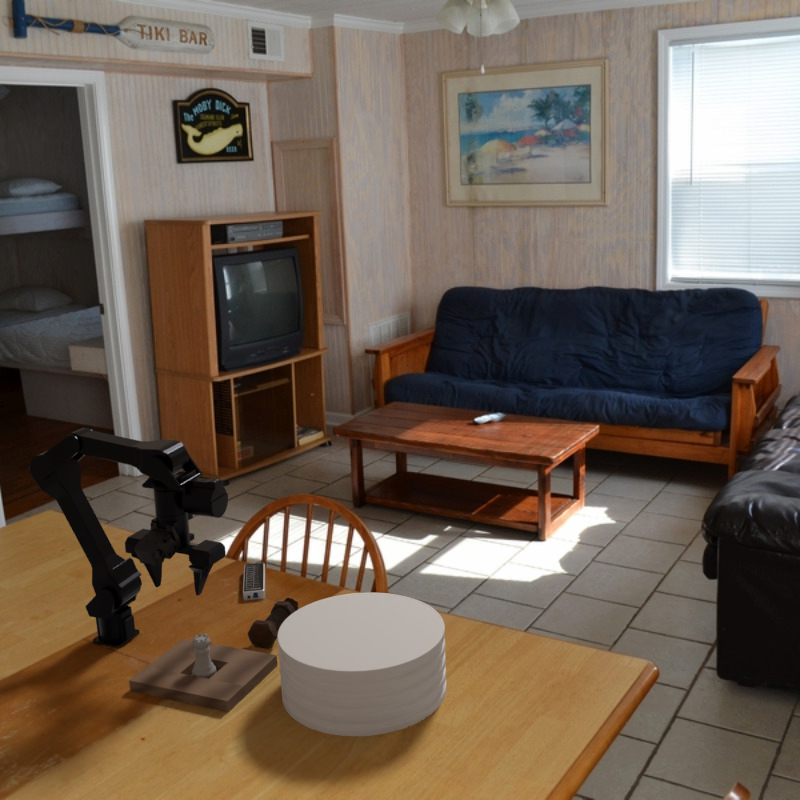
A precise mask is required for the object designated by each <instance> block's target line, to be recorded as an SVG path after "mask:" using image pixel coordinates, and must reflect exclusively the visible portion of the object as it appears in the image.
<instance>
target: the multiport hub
mask: <svg viewBox="0 0 800 800" xmlns="http://www.w3.org/2000/svg"><path fill="white" fill-rule="evenodd" d="M265 565H266V564H265V563H264V562H259V563H257V562H256V563H248V564H247V563H246V564H244V567H243V581H242V582H243V583H242V586H243V587H242V596H243V597H242V598H243V601H244V602H245V601H255V600H265V599H266V566H265Z"/></svg>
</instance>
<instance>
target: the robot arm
mask: <svg viewBox="0 0 800 800" xmlns="http://www.w3.org/2000/svg"><path fill="white" fill-rule="evenodd" d="M85 456H89V457H92V458H96V459H97V458H98V459H101V460H107V461H111V462H115V463H118V464H124V465H128V466H131V467H134V468H136V469H137V470H138V471H139V472H140V473H141V474H143V475H144V476H147V477H148V478H147V479H146V481H144V482H143V483H142V484H141V487H142V488H145V489H152V491H153V501H154V512H155V517H154V518H152V519H151V520H150V521H151V522H150V529H147V528H142V529H140V530H137V531H136V532H134V533H132V534H131V535H128V536H127V537H126V539H125V541H124V549H125V550H124V551H125V553H126V554H131V557H128V558H126V559H125V558H124V557H122V556H120V555H119V554H118V553H117V552H116V551H115V549H114V547H113V545H112V543H111V542H110V539H109V537H108V536H107V534H106V531H105V530H104V528H103V526H102V523H101V522H100V521H99V519H98V517H97V514H96V512H95V511H94V508H93V507H92V505H91V503H90V502H89V499H88V497H87V496H86V494H85V492H84V490H83V488H82V469H81V467H80V464H79V461H80V460H81V459H83V457H85ZM28 468H29V469H28V470H29V473H30V476H31V477H32V479H33V480H34V482H35V483H36V484H37V486H38V487H39V489H40V490H41V491H42V492H44V493H45V494H47V495H48V496H50V497H51V498H53V499H54V500H55V501H56V502H57V504H58V506H59V508H60V510H61V511H62V514H63V515H64V517H65V519H66V521H67V522H68V524H69V525H68V526H70V529H71V530H72V532H73V534H74V537H76V539H77V541H78V544H79V545H80V547H81V549H82V551H83V553H84V554H85V557H86V558H87V560H88V562H89V564H90V567H91V586H92V587H93V588H92V589H93V591H94V594H95V595H94V597H92V599H90V601H89V602H88V603H87V604H86V605H85V609H86V612H87V614H88V616H89V617H91V618H95V624H96V630H97V636H95V637H94V638H93V639H92V643H93V644H94V643H95V644H99V645H105V646H109V647H115V648H121V647H122V646H123V645H125V644H126V643H128V642H129V641H131V640H132V639H134V637H136V636H137V635H139V634H140V630H139V629H136V626H135V616H134V615H133V612H132V607H131V606H130V604H132V603H133V602H135V601H136V600H137V596H138V594H139V593H140V591H141V589H142V585H143V581H142V579H141V576H142V573H141V571H139V570H138V568H137V566H136V564H135V560H134V559H137V560H138V561H139V563H140V564H143V565H144V567H145V569H146V571H147V573H148V575H149V577H150V579H151V581H152V583H153V585H154V587H155V588H159V587H161V584H162V578H163V563H164V561H165V559H166V560H171V559H172V558H173V557H174V556H175V554H181V555H186V556H188V561H189V562H190V565H188V568H189V569H190V570H191V571H192V573H193V584H194V592H195V596H200V595H201V594H202V593H203V590H204V587H205V585H206V582H207V579H208V577H209V575H210V573H211V570H212V568H213V566H214V565H215V564H216V563H218V562H219V561H221V560H222V559H224V558H225V557H226V556H227V554H226V553H227V552H226V546H225V544H223V542H220V541H215V540H211V539H209V540H208V539H205V540H203V541H201V542H200V543H198V544H191V541H194V540H195V533H192V532H191V533H190V524H189V523H190V520H191V519H193V517H194V516H201V517H207V518H216V519H218V518H221V517H223V516H224V515H225V513H226V511H227V509H228V503H229V494H228V492H227V490H226V488H225V487H224V486H223V485H222V484H221V479H220V478H201V477H203V471H201V470H200V468H199V466H198V465H197V464H196V462H195V460H193V458H192V457H191V455H190V454H189V452H188V450H187V448H186V447H185V445H184V443H183V442H182V441H180V440H176V439H175V440H173V439H172V440H171V439H157V440H147V441H143V440H139V439H138V440H137V439H132V438H129V437H128V438H127V437H124V436H119V435H114V434H111V433H106V432H101V431H96V430H93V429H91V428H89V427H82V428H79V429H77V430H75V431H72V432H70V433H68V434H67V435H66V436H65V437H64V438H62V439H61V441H60V442H58V443H57V444H56V445H53V446H52V447H51V448H50V449H49V450H46V451H44V452H42V453H39V454H37V455H35V456H33V458H32V459H31V461H30V465H29V467H28ZM182 471H184V472H183V473H181V474H179V475H178V476H175V475H176V474H178V473H180V472H182ZM133 558H134V559H133Z"/></svg>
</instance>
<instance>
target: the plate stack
mask: <svg viewBox="0 0 800 800" xmlns="http://www.w3.org/2000/svg"><path fill="white" fill-rule="evenodd" d="M445 627H446V626H445V622H444V619H443V617H442V616H441V614H440V613H439V612H438V611H437V610H436V609H435V608H433V607H432V606H431V605H429V604H427V603H425V602H423V601H421V600H419V599H416V598H413V597H409V596H405V595H402V594H396V593H389V592H388V593H387V592H374V591H373V592H354V593H346V594H345V593H344V594H339V595H334V596H329V597H326V598H322V599H319V600H316V601H313V602H311V603H308V604H306V605H304V606H302V607H300V608H298V610H297V611H295V612H294V613H292V614H291V615H290V616H289V617H287V618H286V619H285V621H284V622H283V623H282V624H281V626H280V628H279V630H278V631H277V633H278V636H277V638H276V640H277V648H278V659H279V674H280V686H281V687H280V688H281V699H282V701H281V702H282V705H283V707H284V710H285V711H286V713H288V715H289V716H290V717H291V718H292V719H293V720H295V721H296V722H298V724H301V725H303V726H305V727H306V728H309V729H311V730H314V731H316V732H320V733H324V734H328V735H335V736H342V737H368V736H369V737H370V736H379V735H385V734H389V732H390V733H394V732H396V731H397V732H398V731H400V730H403V729H407V728H409V727H412V726H413V725H416V724H418V723H420V722H422V721H423V720H425V719H427V718H428V717H429V716H431V715H432V714H433V713H434V712H436V711H437V709H438V708H439V707H440V706H441V705H442V704H443V702H442V701H444V700H445V697H446V695H447V690H446V689H448V688H447V687H448V686H447V685H448V684H447V665H446V664H447V663H446V662H447V661H446V660H447V659H446V658H447V657H446V656H447V655H446V639H445V638H446V637H445V636H446V628H445ZM443 699H444V700H443ZM426 717H427V718H426ZM421 720H422V721H421ZM408 726H409V727H408Z"/></svg>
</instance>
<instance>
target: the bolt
mask: <svg viewBox="0 0 800 800" xmlns="http://www.w3.org/2000/svg"><path fill="white" fill-rule="evenodd" d="M298 609H299V602H298V601H297V600H295V599H294V598H290V597H286V598H285V599H284V600H279V601H276V602H275V604H274V606H273V607H272V608H271V610H270V613H269V615H268V616H267V617H266V619H265V620H262V619H261V620H259V619H256V620H255V621H254V622H253V623H252V624H251V626H250V628H249V631H248V632H247V637H248V639H249V641H250V643H251V644H252V646H253V647H255V648H258V649H265V650H267V649H271V648H272V647H273V646H274V644H275V642H276V641H277V636H278V631H279V628H280V626H281V624H282V623H283V622H284V621H285V619H286V618H287V617H289V616H290V615H291V614H292V613H294V612H295V611H297V610H298Z"/></svg>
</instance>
